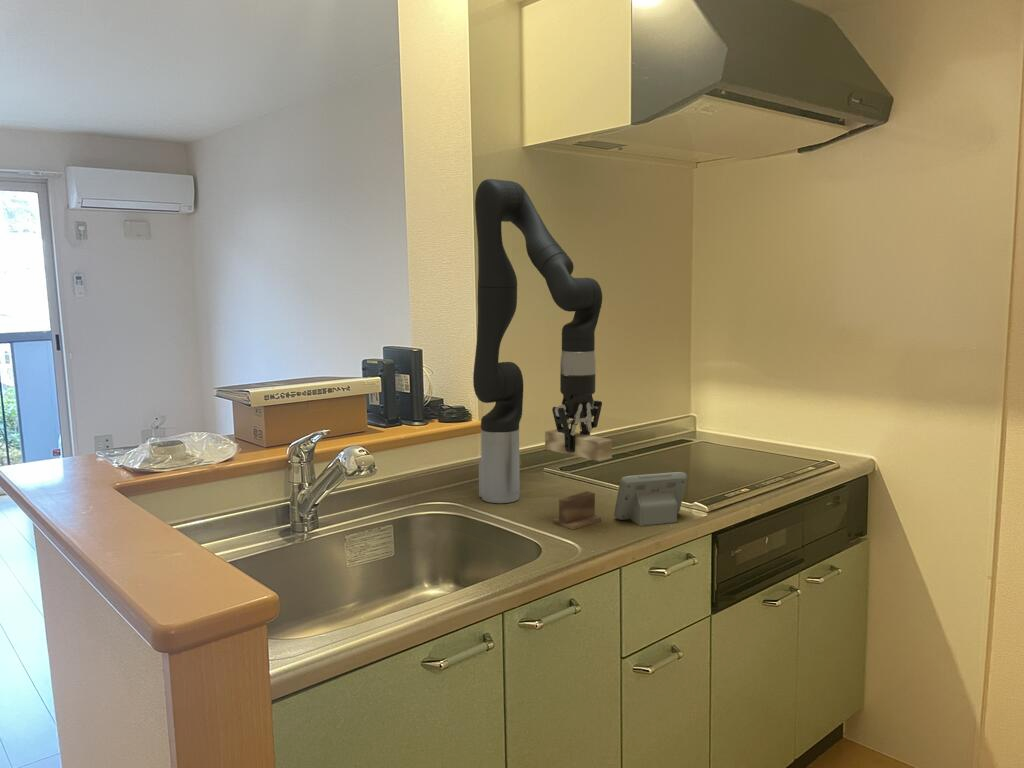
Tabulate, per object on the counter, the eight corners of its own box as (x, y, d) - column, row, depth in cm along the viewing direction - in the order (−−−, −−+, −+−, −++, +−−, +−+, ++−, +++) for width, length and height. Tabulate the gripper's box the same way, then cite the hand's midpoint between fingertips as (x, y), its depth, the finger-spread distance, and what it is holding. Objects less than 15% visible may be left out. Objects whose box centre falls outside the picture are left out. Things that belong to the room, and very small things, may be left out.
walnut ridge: (553, 523, 171) (553, 497, 170) (580, 514, 177) (580, 489, 176) (573, 529, 166) (573, 503, 165) (600, 520, 172) (601, 495, 172)
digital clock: (680, 512, 178) (681, 467, 177) (692, 525, 169) (693, 477, 168) (610, 514, 177) (611, 468, 175) (618, 527, 168) (619, 479, 166)
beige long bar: (545, 448, 174) (545, 431, 173) (557, 446, 176) (557, 428, 176) (599, 461, 162) (599, 442, 162) (611, 458, 165) (612, 439, 164)
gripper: (586, 367, 174) (586, 442, 177) (542, 373, 165) (542, 452, 167) (612, 370, 169) (611, 447, 171) (568, 376, 159) (567, 458, 162)
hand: (577, 449), depth 169 cm, fingers closed on beige long bar, 4 cm apart
